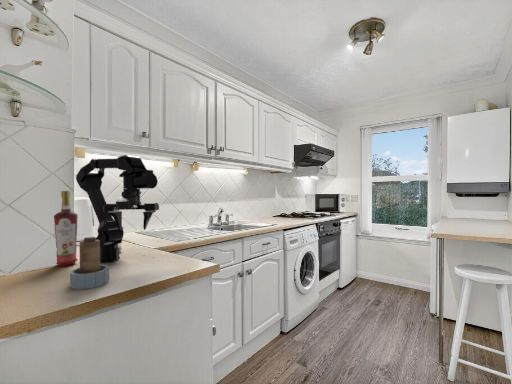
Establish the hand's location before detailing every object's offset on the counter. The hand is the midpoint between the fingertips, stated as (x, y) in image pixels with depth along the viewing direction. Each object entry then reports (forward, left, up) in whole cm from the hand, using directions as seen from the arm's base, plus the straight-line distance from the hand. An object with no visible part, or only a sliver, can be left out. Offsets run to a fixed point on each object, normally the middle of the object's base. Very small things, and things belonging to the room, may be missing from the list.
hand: (132, 229), depth 101 cm
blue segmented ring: (-4, -21, -13) cm, 25 cm away
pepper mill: (-4, -21, -12) cm, 24 cm away
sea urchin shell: (-17, +18, -13) cm, 28 cm away
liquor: (-25, +1, -13) cm, 28 cm away
